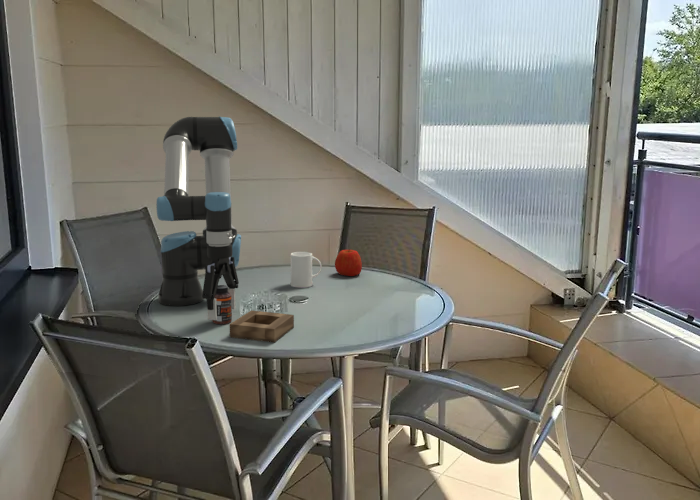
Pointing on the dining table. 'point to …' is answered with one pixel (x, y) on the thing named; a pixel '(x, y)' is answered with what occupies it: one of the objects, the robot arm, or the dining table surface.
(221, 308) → the supplement bottle
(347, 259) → the apple
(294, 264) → the mug
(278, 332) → the holder block
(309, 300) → the dining table surface
